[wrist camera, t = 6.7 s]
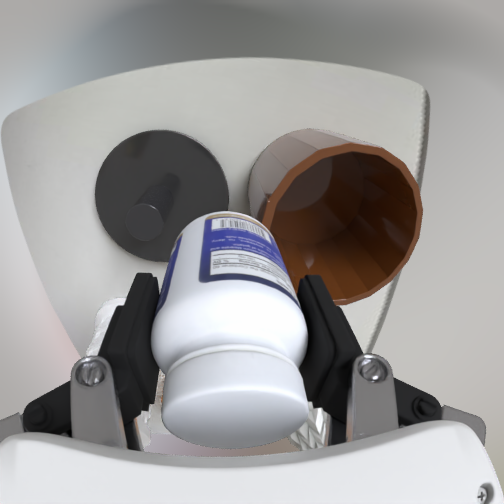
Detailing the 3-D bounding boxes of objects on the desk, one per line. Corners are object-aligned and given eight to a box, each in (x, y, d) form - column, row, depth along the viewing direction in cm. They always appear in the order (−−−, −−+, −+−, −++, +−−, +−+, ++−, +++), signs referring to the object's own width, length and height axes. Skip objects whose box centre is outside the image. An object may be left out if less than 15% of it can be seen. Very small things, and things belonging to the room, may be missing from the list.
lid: (93, 135, 25) (61, 146, 19) (230, 127, 27) (232, 133, 21) (109, 256, 33) (89, 290, 26) (227, 257, 34) (229, 293, 28)
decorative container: (171, 354, 42) (160, 455, 27) (106, 347, 41) (79, 438, 25) (165, 300, 37) (142, 418, 21) (90, 293, 35) (42, 395, 20)
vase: (353, 320, 42) (398, 416, 26) (342, 377, 50) (369, 455, 34) (253, 339, 42) (268, 449, 26) (262, 392, 50) (275, 477, 34)
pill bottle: (216, 313, 16) (219, 463, 8) (152, 249, 13) (97, 409, 6) (297, 265, 15) (356, 418, 7) (238, 186, 12) (266, 335, 5)
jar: (250, 123, 27) (266, 132, 17) (375, 138, 28) (438, 159, 18) (244, 246, 34) (253, 309, 24) (355, 246, 35) (397, 300, 25)
